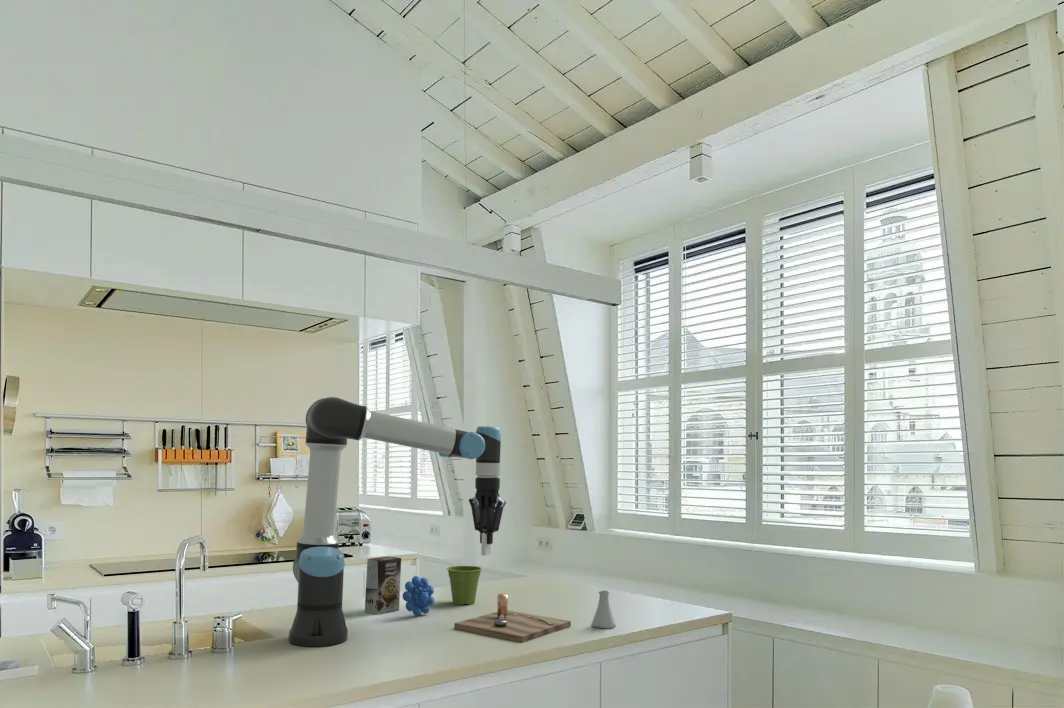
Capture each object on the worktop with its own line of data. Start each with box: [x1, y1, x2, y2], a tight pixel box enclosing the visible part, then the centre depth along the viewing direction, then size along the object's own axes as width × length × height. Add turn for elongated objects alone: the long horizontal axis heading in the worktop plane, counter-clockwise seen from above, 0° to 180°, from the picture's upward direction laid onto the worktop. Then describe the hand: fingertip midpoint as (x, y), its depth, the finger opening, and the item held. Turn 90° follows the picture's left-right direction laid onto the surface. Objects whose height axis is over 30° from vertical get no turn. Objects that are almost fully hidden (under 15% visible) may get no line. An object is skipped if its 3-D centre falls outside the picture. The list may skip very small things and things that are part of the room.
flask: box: [591, 590, 616, 629], centre depth 240 cm, size 7×7×10 cm
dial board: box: [453, 609, 572, 643], centre depth 235 cm, size 24×24×2 cm
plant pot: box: [446, 565, 483, 606], centre depth 268 cm, size 12×12×11 cm
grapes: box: [402, 575, 435, 617], centre depth 247 cm, size 12×7×12 cm, turn 134°
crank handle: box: [494, 593, 509, 626], centre depth 236 cm, size 15×4×6 cm, turn 0°
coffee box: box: [364, 556, 402, 615], centre depth 254 cm, size 9×6×16 cm
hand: (486, 554), depth 248 cm, fingers closed
